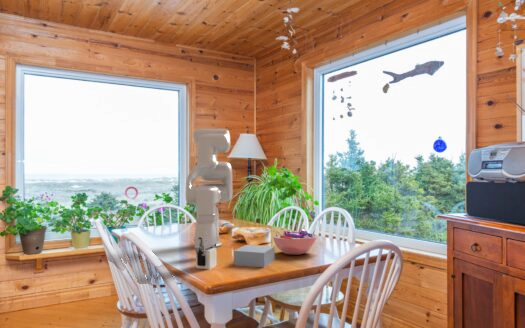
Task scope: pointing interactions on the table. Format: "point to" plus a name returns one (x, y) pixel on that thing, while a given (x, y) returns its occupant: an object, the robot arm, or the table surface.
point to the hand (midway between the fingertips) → (206, 262)
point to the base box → (254, 255)
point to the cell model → (294, 242)
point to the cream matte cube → (209, 258)
